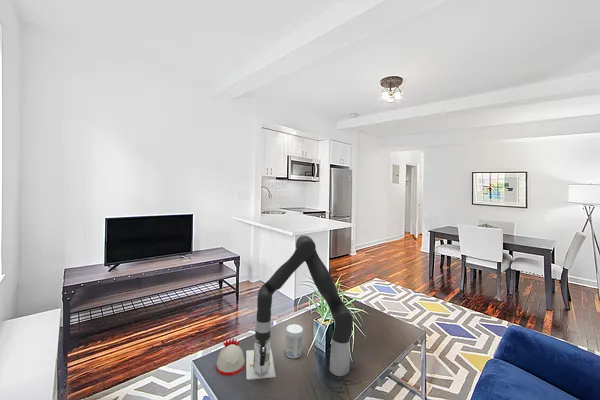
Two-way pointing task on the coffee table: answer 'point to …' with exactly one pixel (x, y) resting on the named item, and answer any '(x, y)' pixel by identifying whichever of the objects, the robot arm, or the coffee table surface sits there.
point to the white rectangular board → (252, 373)
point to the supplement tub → (294, 341)
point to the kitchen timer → (230, 359)
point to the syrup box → (256, 363)
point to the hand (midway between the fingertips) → (261, 359)
